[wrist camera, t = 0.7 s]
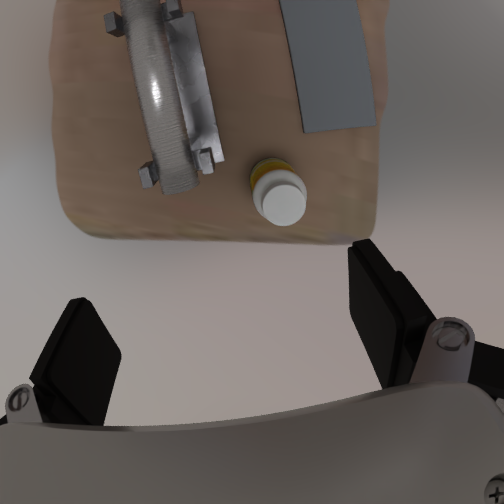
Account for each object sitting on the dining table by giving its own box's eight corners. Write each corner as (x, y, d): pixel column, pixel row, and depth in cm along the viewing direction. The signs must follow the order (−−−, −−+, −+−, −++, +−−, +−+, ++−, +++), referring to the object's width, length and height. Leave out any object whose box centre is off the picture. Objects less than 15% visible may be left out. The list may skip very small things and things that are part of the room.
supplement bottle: (303, 183, 37) (324, 211, 29) (267, 208, 38) (278, 244, 30) (276, 147, 35) (292, 165, 27) (239, 175, 36) (242, 201, 28)
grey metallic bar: (126, 7, 18) (114, -2, 15) (162, -4, 18) (153, -15, 15) (166, 186, 25) (158, 197, 23) (201, 178, 25) (197, 188, 22)
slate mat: (273, -25, 25) (273, -27, 24) (347, -26, 25) (348, -27, 24) (303, 132, 34) (304, 133, 34) (374, 124, 34) (376, 125, 33)
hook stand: (141, 27, 27) (98, -1, 15) (193, 13, 27) (174, -27, 15) (173, 170, 35) (147, 209, 24) (224, 159, 35) (221, 193, 24)
